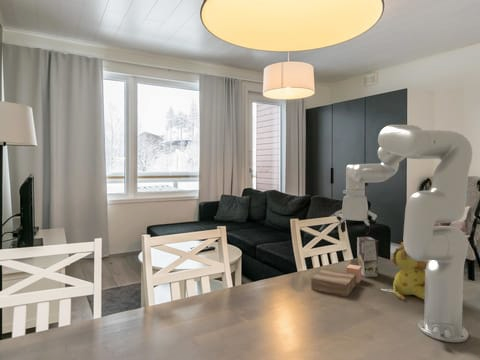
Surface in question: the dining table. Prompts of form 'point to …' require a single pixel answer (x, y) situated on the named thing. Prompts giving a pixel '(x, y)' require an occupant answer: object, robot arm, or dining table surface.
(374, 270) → the coffee box
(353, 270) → the terracotta block
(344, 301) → the dining table surface
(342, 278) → the walnut base
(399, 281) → the giraffe plush
